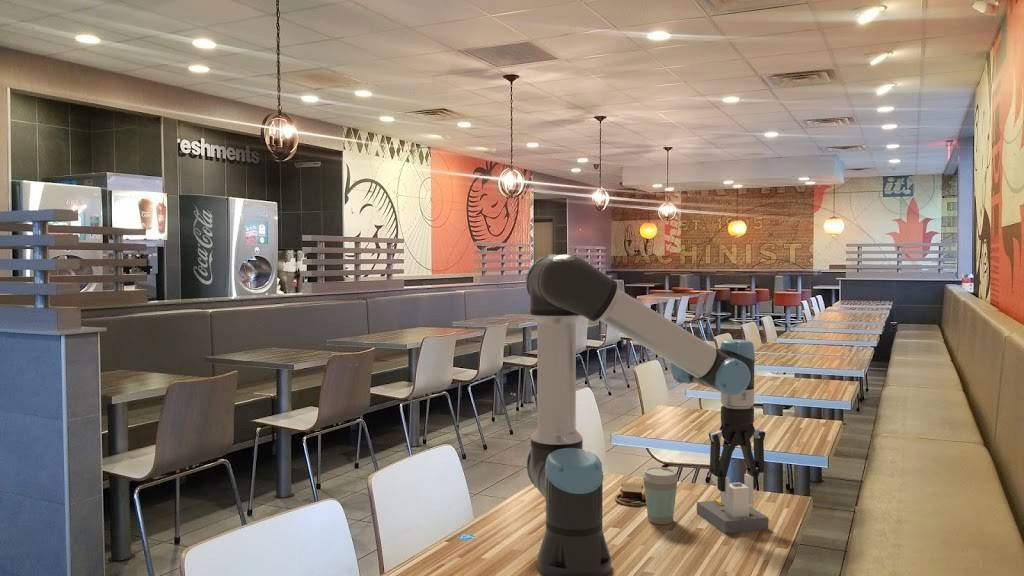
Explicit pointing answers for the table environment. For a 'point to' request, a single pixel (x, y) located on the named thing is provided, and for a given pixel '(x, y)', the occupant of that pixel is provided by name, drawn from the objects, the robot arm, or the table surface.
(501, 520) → the table surface
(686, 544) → the table surface
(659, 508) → the coffee cup
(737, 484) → the block
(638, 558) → the table surface
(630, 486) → the toy sandwich meal
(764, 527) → the grey charger dock
